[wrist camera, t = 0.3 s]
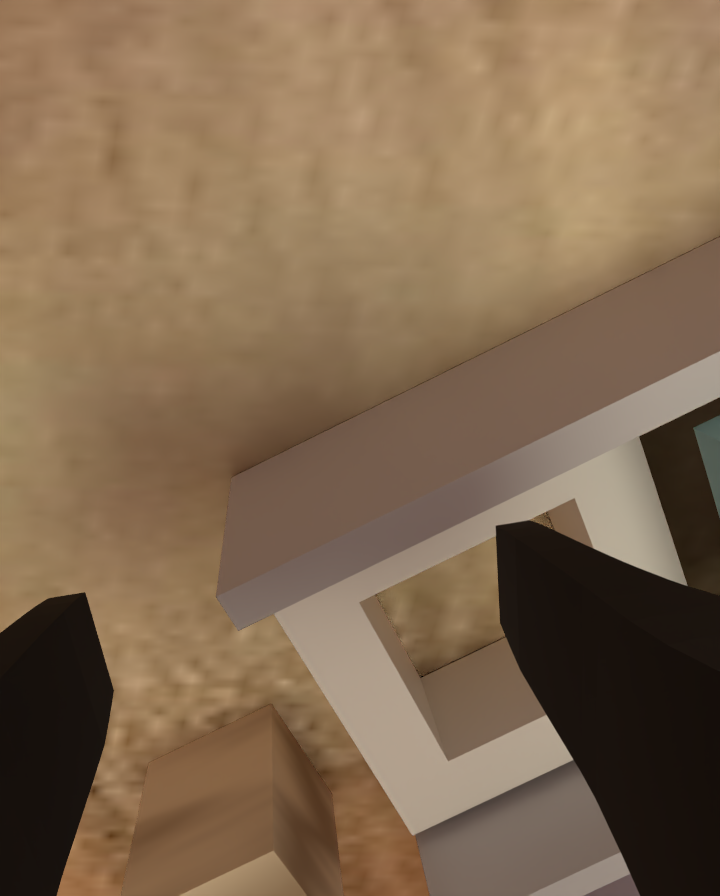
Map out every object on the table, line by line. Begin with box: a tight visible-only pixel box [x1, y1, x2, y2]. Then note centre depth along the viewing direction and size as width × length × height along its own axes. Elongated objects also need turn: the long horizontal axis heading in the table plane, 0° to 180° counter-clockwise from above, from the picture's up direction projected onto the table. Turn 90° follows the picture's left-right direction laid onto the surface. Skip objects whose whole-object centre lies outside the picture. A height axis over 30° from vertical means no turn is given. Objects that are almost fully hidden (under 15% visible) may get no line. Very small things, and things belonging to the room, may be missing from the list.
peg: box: [121, 704, 344, 896], centre depth 22 cm, size 5×5×6 cm
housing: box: [216, 237, 720, 896], centre depth 20 cm, size 14×24×7 cm, turn 115°
